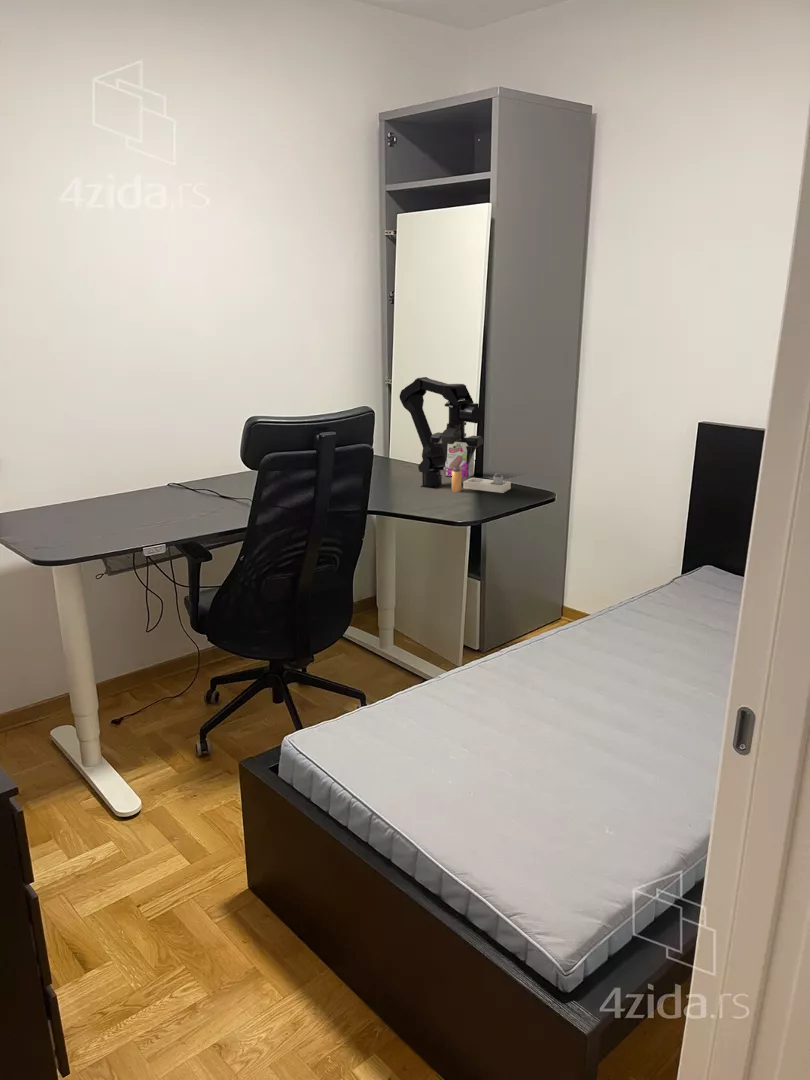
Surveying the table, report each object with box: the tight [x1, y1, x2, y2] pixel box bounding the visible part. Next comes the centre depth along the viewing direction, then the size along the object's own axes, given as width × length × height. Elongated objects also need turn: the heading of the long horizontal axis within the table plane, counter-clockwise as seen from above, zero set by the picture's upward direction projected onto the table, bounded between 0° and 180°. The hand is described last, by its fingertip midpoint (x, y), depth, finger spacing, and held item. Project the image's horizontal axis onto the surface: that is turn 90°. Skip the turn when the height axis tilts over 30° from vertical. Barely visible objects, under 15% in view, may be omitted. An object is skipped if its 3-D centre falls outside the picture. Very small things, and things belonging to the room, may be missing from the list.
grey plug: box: [492, 472, 504, 485], centre depth 288 cm, size 4×4×6 cm
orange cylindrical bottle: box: [451, 467, 462, 493], centre depth 288 cm, size 4×4×9 cm
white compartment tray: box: [462, 477, 512, 494], centre depth 291 cm, size 16×7×4 cm, turn 59°
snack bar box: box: [443, 435, 475, 479], centre depth 311 cm, size 11×5×16 cm, turn 58°
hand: (456, 462), depth 286 cm, fingers open, 9 cm apart
